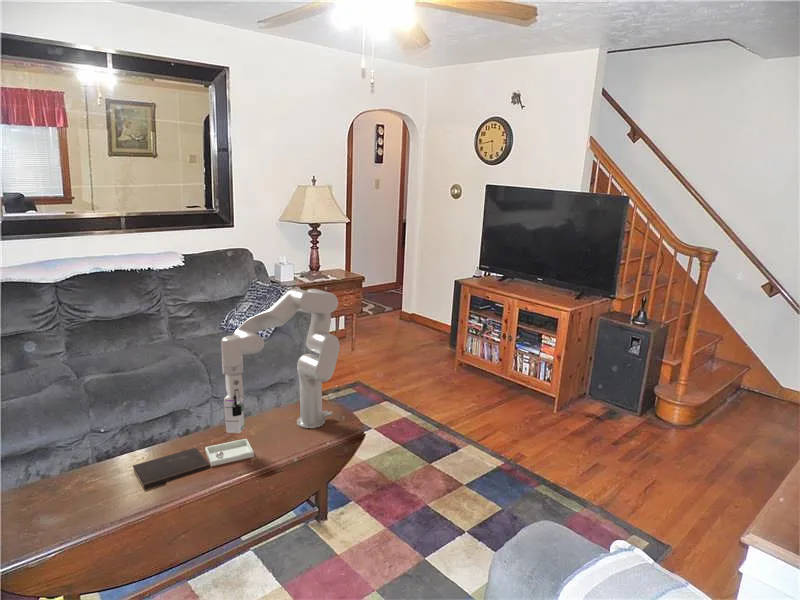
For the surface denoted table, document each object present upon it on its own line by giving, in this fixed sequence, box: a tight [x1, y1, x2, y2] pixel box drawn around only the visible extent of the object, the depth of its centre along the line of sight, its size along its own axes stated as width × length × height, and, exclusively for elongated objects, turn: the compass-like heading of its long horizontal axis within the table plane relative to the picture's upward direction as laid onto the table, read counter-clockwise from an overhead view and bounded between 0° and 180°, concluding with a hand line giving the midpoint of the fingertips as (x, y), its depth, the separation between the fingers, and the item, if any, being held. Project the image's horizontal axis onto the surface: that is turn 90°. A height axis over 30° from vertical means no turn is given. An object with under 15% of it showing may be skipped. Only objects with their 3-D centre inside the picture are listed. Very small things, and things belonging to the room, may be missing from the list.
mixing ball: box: [216, 451, 224, 459], centre depth 206 cm, size 3×3×3 cm
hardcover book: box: [132, 447, 211, 490], centre depth 200 cm, size 16×23×2 cm
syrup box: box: [223, 394, 246, 434], centre depth 208 cm, size 6×6×14 cm
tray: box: [205, 438, 255, 467], centre depth 210 cm, size 16×12×2 cm
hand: (234, 411), depth 208 cm, fingers closed on syrup box, 7 cm apart
